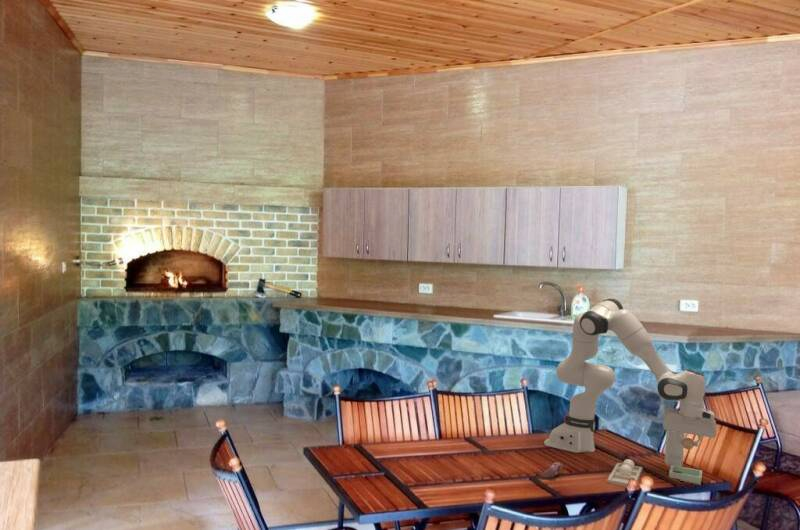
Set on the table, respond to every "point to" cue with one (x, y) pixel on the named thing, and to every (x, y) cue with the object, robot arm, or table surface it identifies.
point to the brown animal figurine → (552, 470)
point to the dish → (686, 474)
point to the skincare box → (673, 449)
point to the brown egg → (688, 443)
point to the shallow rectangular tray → (621, 479)
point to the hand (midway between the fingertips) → (687, 444)
